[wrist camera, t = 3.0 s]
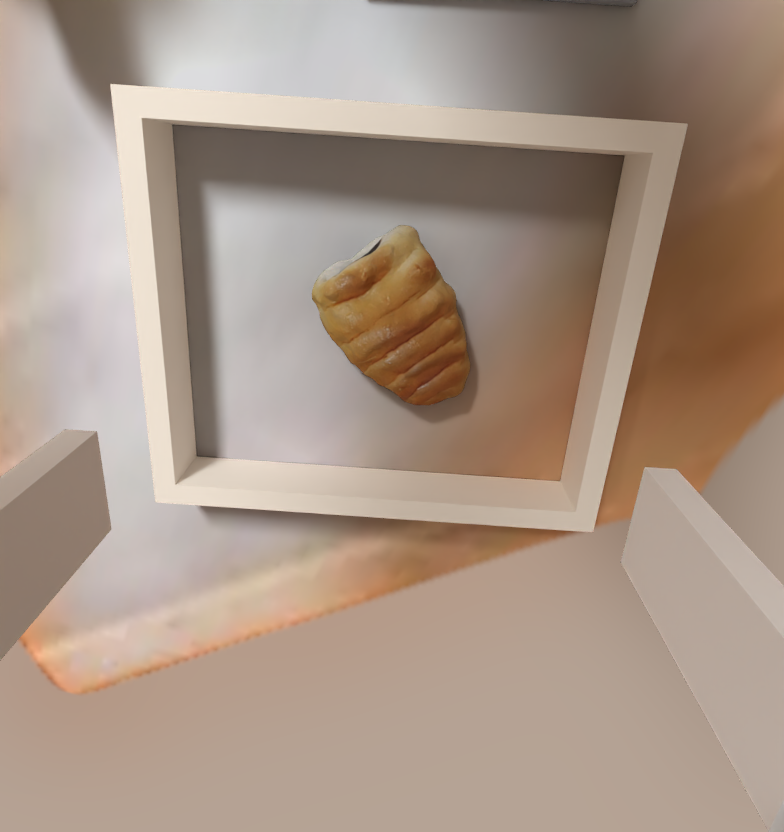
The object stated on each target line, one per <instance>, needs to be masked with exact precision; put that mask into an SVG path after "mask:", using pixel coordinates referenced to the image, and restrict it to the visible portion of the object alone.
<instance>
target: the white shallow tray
mask: <svg viewBox="0 0 784 832" xmlns="http://www.w3.org/2000/svg"><path fill="white" fill-rule="evenodd" d="M110 87H111V97H112V106H113V115H114V124H115V133H116V143H117V152H118V161H119V170H120V180H121V189H122V198H123V207H124V217H125V226H126V235H127V244H128V254H129V263H130V272H131V281H132V291H133V300H134V309H135V318H136V328H137V337H138V346H139V355H140V365H141V374H142V383H143V392H144V401H145V411H146V420H147V429H148V438H149V448H150V457H151V466H152V475H153V485H154V494H155V502H157V503H172V504H186V505H201V506H215V507H230V508H244V509H259V510H274V511H288V512H303V513H317V514H332V515H347V516H361V517H376V518H390V519H405V520H419V521H434V522H449V523H463V524H478V525H492V526H507V527H522V528H536V529H551V530H565V531H580V532H593V530H594V526H595V522H596V517H597V513H598V509H599V505H600V500H601V496H602V492H603V487H604V483H605V479H606V474H607V470H608V466H609V462H610V457H611V453H612V449H613V444H614V440H615V436H616V431H617V427H618V423H619V419H620V414H621V410H622V406H623V401H624V397H625V393H626V388H627V384H628V380H629V376H630V371H631V367H632V363H633V358H634V354H635V350H636V345H637V341H638V337H639V333H640V328H641V324H642V320H643V315H644V311H645V307H646V303H647V298H648V294H649V290H650V285H651V281H652V277H653V272H654V268H655V264H656V260H657V255H658V251H659V247H660V242H661V238H662V234H663V229H664V225H665V221H666V217H667V212H668V208H669V204H670V199H671V195H672V191H673V186H674V182H675V178H676V174H677V169H678V165H679V161H680V156H681V152H682V148H683V143H684V139H685V135H686V131H687V126H688V124H686V123H672V122H657V121H643V120H628V119H614V118H599V117H584V116H570V115H555V114H541V113H526V112H512V111H497V110H483V109H468V108H453V107H439V106H424V105H410V104H395V103H381V102H366V101H351V100H337V99H322V98H308V97H293V96H279V95H264V94H249V93H235V92H220V91H206V90H191V89H177V88H162V87H148V86H133V85H118V84H110ZM172 124H174V125H189V126H203V127H218V128H232V129H247V130H262V131H276V132H291V133H305V134H320V135H334V136H349V137H363V138H378V139H393V140H407V141H422V142H436V143H451V144H465V145H480V146H495V147H509V148H524V149H538V150H553V151H567V152H582V153H597V154H611V155H625V157H624V162H623V167H622V172H621V177H620V182H619V187H618V193H617V198H616V203H615V208H614V213H613V218H612V223H611V228H610V233H609V238H608V243H607V248H606V253H605V258H604V263H603V268H602V273H601V278H600V283H599V288H598V293H597V298H596V303H595V308H594V313H593V318H592V323H591V328H590V333H589V338H588V343H587V348H586V353H585V358H584V364H583V369H582V374H581V379H580V384H579V389H578V394H577V399H576V404H575V409H574V414H573V419H572V424H571V429H570V434H569V439H568V444H567V449H566V454H565V459H564V464H563V469H562V474H561V479H560V481H548V480H533V479H519V478H504V477H490V476H475V475H460V474H446V473H431V472H417V471H402V470H388V469H373V468H358V467H344V466H329V465H315V464H300V463H285V462H271V461H256V460H242V459H227V458H213V457H198V456H197V453H196V440H195V426H194V413H193V399H192V386H191V372H190V359H189V345H188V332H187V318H186V305H185V291H184V278H183V264H182V251H181V237H180V223H179V210H178V196H177V183H176V169H175V156H174V142H173V129H172Z"/></svg>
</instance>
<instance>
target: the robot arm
mask: <svg viewBox="0 0 784 832" xmlns="http://www.w3.org/2000/svg"><path fill="white" fill-rule="evenodd" d="M110 530H111V523H110V516H109V509H108V502H107V496H106V489H105V482H104V475H103V469H102V462H101V455H100V448H99V442H98V435H97V431H82V430H66V429H65V430H64V431H62V432H61V433H60V434H58V435H57V436H55V437H54V438H53V439H51V440H50V441H49V442H47V443H46V444H45V445H43V446H42V447H40V448H39V449H38V450H36V451H35V452H34V453H32V454H31V455H30V456H28V457H27V458H25V459H24V460H23V461H21V462H20V463H19V464H17V465H16V466H15V467H13V468H12V469H10V470H9V471H8V472H6V473H5V474H4V475H2V476H1V477H0V660H1V659H2V658H3V657H4V656H5V654H6V653H7V652H8V651H9V650H10V648H11V647H12V646H13V645H14V644H15V643H16V642H17V640H18V639H19V638H20V637H21V636H22V634H23V633H24V632H25V631H26V630H27V629H28V627H29V626H30V625H31V624H32V623H33V621H34V620H35V619H36V618H37V617H38V616H39V614H40V613H41V612H42V611H43V610H44V608H45V607H46V606H47V605H48V604H49V603H50V601H51V600H52V599H53V598H54V597H55V595H56V594H57V593H58V592H59V591H60V589H61V588H62V587H63V586H64V585H65V584H66V582H67V581H68V580H69V579H70V578H71V576H72V575H73V574H74V573H75V572H76V571H77V569H78V568H79V567H80V566H81V565H82V563H83V562H84V561H85V560H86V559H87V558H88V556H89V555H90V554H91V553H92V552H93V550H94V549H95V548H96V547H97V546H98V544H99V543H100V542H101V541H102V540H103V539H104V537H105V536H106V535H107V534H108V533H109V531H110ZM621 564H622V566H623V568H624V570H625V571H626V573H627V575H628V577H629V579H630V581H631V583H632V584H633V586H634V588H635V590H636V592H637V593H638V595H639V597H640V599H641V601H642V603H643V604H644V606H645V608H646V610H647V612H648V613H649V615H650V617H651V619H652V621H653V623H654V624H655V626H656V628H657V630H658V631H659V633H660V635H661V637H662V639H663V641H664V643H665V644H666V646H667V648H668V650H669V652H670V653H671V655H672V657H673V659H674V661H675V663H676V664H677V666H678V668H679V670H680V672H681V673H682V675H683V677H684V679H685V681H686V683H687V684H688V686H689V688H690V690H691V692H692V693H693V695H694V697H695V699H696V701H697V703H698V704H699V706H700V708H701V710H702V712H703V713H704V715H705V717H706V719H707V721H708V723H709V724H710V726H711V728H712V730H713V732H714V733H715V735H716V737H717V739H718V741H719V743H720V744H721V746H722V748H723V750H724V752H725V753H726V755H727V757H728V759H729V761H730V763H731V764H732V766H733V768H734V770H735V772H736V773H737V775H738V777H739V779H740V781H741V783H742V784H743V786H744V788H745V790H746V792H747V793H748V795H749V797H750V799H751V801H752V803H753V804H754V806H755V808H756V810H757V812H758V814H759V815H760V817H761V819H762V821H763V823H764V824H765V826H766V828H767V830H768V832H784V586H783V585H782V583H781V582H780V581H779V580H778V579H777V578H776V577H775V576H774V575H773V574H772V573H771V571H770V570H769V569H768V568H767V567H766V566H765V565H764V564H763V563H762V562H761V561H760V560H759V558H758V557H757V556H756V555H755V554H754V553H753V552H752V551H751V550H750V549H749V547H748V546H747V545H746V544H745V543H744V542H743V541H742V540H741V539H740V538H739V537H738V535H737V534H736V533H735V532H734V531H733V530H732V529H731V528H730V527H729V526H728V525H727V523H726V522H725V521H724V520H723V519H722V518H721V517H720V516H719V515H718V514H717V513H716V512H715V511H714V509H713V508H712V507H711V506H710V505H709V504H708V503H707V502H706V501H705V500H704V499H703V497H702V496H701V495H700V494H699V493H698V492H697V491H696V490H695V489H694V488H693V486H692V485H691V484H690V483H689V482H688V481H687V480H686V479H685V478H684V477H683V476H682V474H681V473H680V472H679V471H678V470H677V469H667V468H651V467H644V471H643V475H642V479H641V483H640V487H639V491H638V495H637V499H636V503H635V507H634V511H633V515H632V519H631V523H630V527H629V531H628V535H627V538H626V543H625V546H624V550H623V554H622V558H621Z"/></svg>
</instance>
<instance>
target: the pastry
mask: <svg viewBox="0 0 784 832" xmlns="http://www.w3.org/2000/svg"><path fill="white" fill-rule="evenodd" d="M312 300H313V301H314V302H315V303H316V305H317V307H318V310H319V312H320V318H321V321H322V323H323V326H324V327H325V329H326V331H327V333H328V334H329V335H330V337H331V338H332V340H333V341H334V342H335V343H336V344H337V345H338V346H339V347H340V348H341V349H342V350H343V351H344V353H345V355H346V356H347V358H348V359H349V361H350V362H351V363H352V364H354V365H356V366H357V367H358V368H359V369H360V370H361V371H362V372H363V373H364V374H365V375H366V376H368V377H370V378H372V379H374V381H375V382H377V383H378V384H379V385H381V386H384V387H386V388H387V389H389V390H391V391H393V392H394V393H395V394H397V395H398V396H399V397H400V398H401V399H402V400H403V401H405V402H408V403H411V404H413V405H431V404H435V403H438V402H441V401H443V400H445V399H447V398H452V397H455V396H457V395H459V394H460V393H461V392H462V391H463V388H464V386H465V382H466V380H467V376H468V374H469V371H470V361H469V357H468V353H467V350H466V346H467V343H466V340H465V336H466V335H465V330H464V327H463V324H462V321H461V319H460V317H459V315H458V311H457V308H456V301H457V300H456V294H455V292H454V290H453V289H452V288H451V286H449V285H448V284H447V283H446V282H445V281H444V280H443V278H442V276H441V274H440V272H439V270H438V269H437V268H436V265H435V263H434V261H433V259H432V258H431V256H430V254H429V253H428V252H427V251H426V250H425V248H424V246H423V245H422V243H421V242H420V239H419V235H418V232H417V231H416V230H415V229H414V228H412V227H411V226H405V225H399V226H398V227H396V228H394V229H392V230H391V231H389V232H388V233H387V234H385V235H382V236H380V237H378V238H376V239H375V240H373V241H372V242H370V243H369V244H368V245H367V246H366V247H365V248H363V249H362V250H361V251H360V252H358V253H357V254H356V255H355V256H354V257H353V258H352V259H349V260H342V261H339V262H336V263H334V264H333V265H332V266H330V267H329V268H328V269H326V270H324V271H323V272H322V273H321V274H320V276H319V277H318V279H317V280H316V282H315V284H314V287H313V290H312Z"/></svg>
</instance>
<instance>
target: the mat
mask: <svg viewBox="0 0 784 832" xmlns="http://www.w3.org/2000/svg"><path fill="white" fill-rule="evenodd" d="M545 1H559V2H574V3H588V4H603V5H618V6H633V5H634V4H636V3H637V0H545Z"/></svg>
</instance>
